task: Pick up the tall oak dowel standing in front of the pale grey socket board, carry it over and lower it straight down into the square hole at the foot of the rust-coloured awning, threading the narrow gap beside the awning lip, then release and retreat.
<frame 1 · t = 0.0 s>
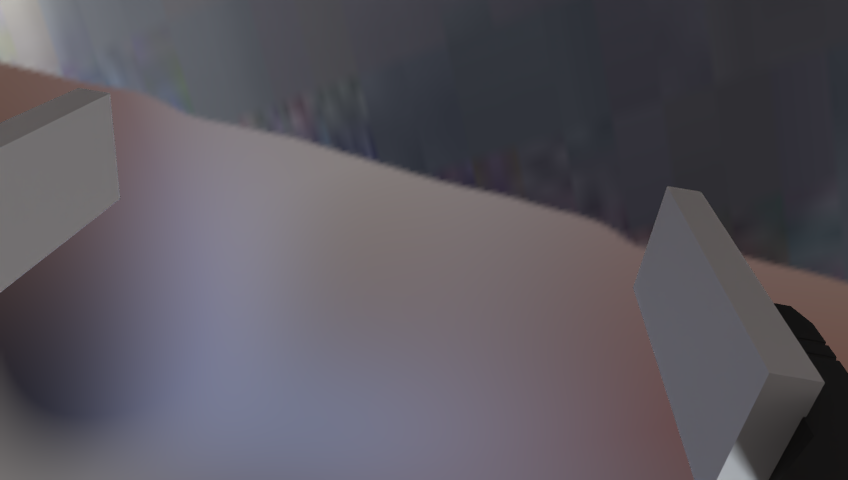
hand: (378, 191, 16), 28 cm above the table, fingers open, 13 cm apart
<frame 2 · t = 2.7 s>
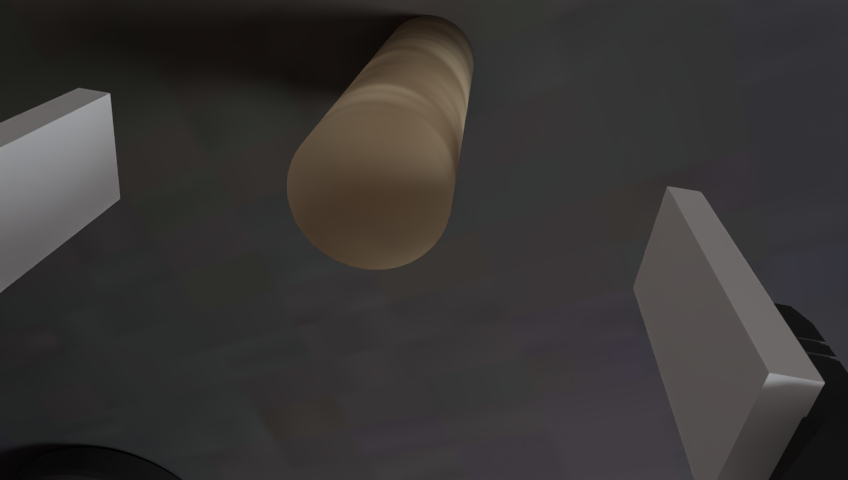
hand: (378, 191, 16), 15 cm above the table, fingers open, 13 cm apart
dowel: (428, 62, 29), on the table
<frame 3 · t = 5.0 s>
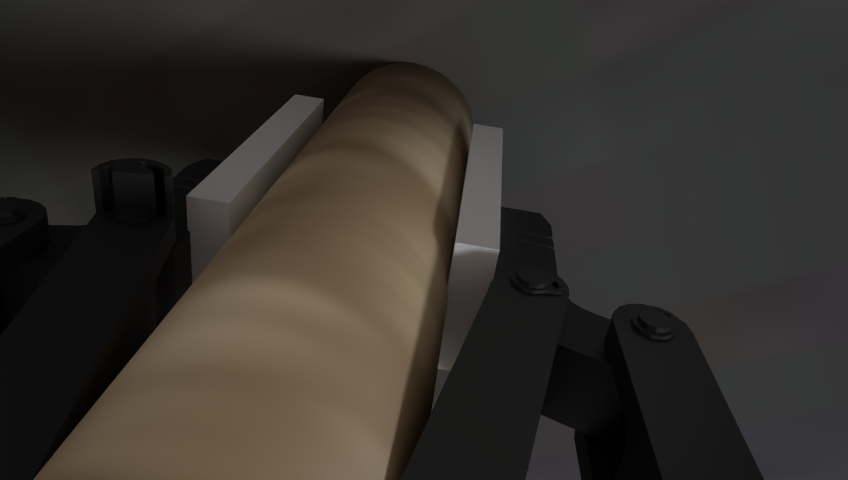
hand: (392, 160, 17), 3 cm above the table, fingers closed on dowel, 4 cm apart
dowel: (406, 129, 20), on the table, touching gripper
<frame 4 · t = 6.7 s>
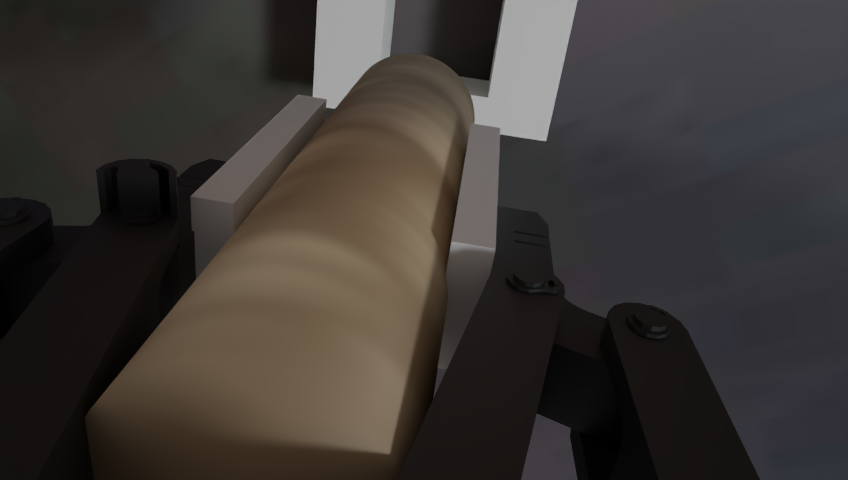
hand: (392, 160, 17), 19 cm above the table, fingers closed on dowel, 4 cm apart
dowel: (411, 117, 21), point 16 cm above the table, touching gripper
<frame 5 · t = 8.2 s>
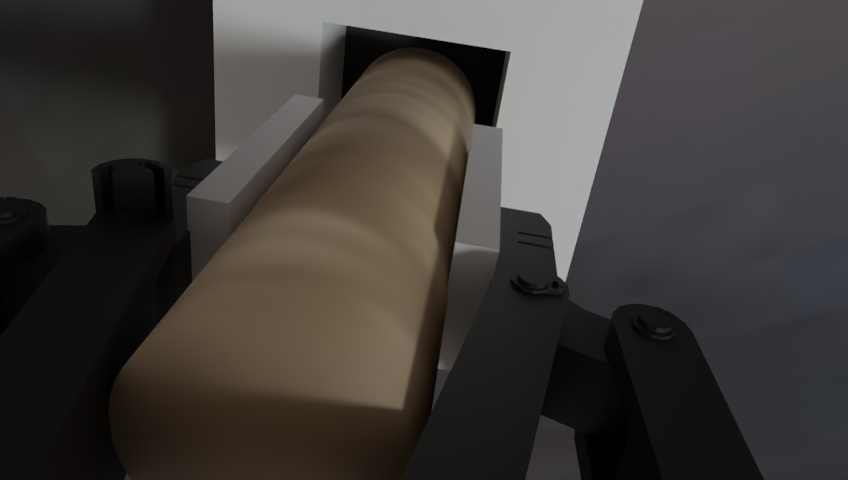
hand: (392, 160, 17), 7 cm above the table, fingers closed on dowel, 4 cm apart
dowel: (414, 110, 21), point 2 cm above the table, touching gripper
when the fingers open (4 cm above the table, at t = 8.8 s): dowel stays where it is, on the table.
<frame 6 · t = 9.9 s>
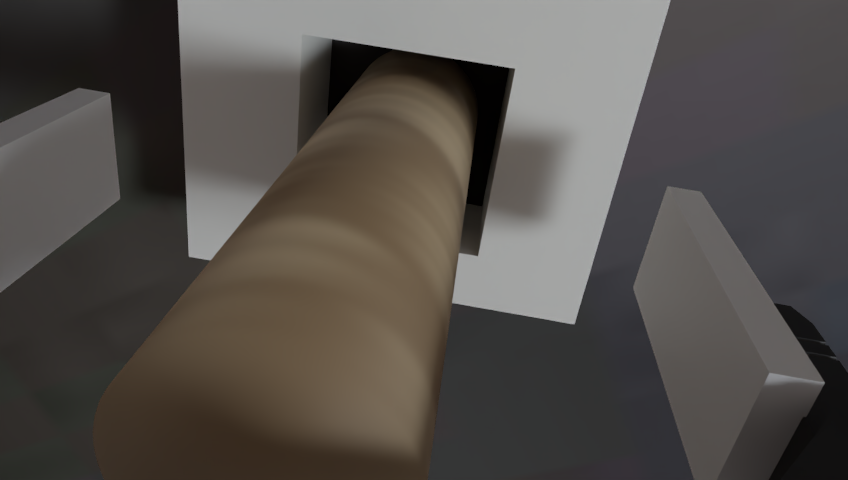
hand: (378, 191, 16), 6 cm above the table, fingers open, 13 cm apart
dowel: (415, 110, 21), on the table
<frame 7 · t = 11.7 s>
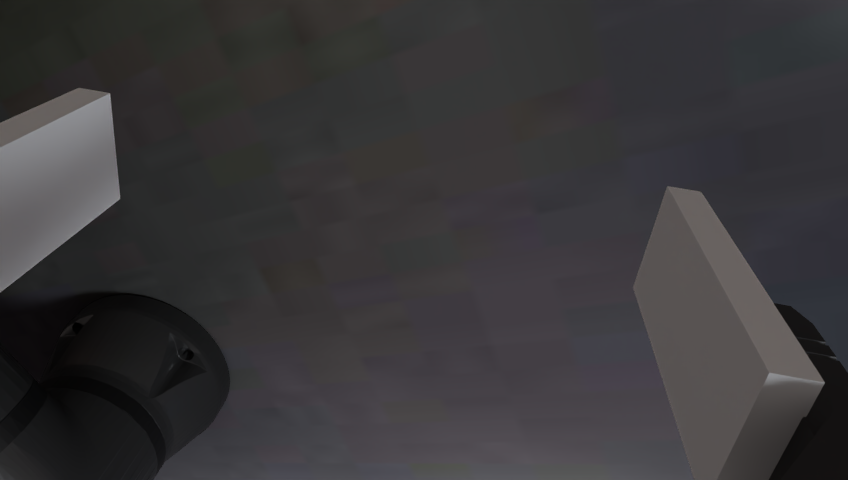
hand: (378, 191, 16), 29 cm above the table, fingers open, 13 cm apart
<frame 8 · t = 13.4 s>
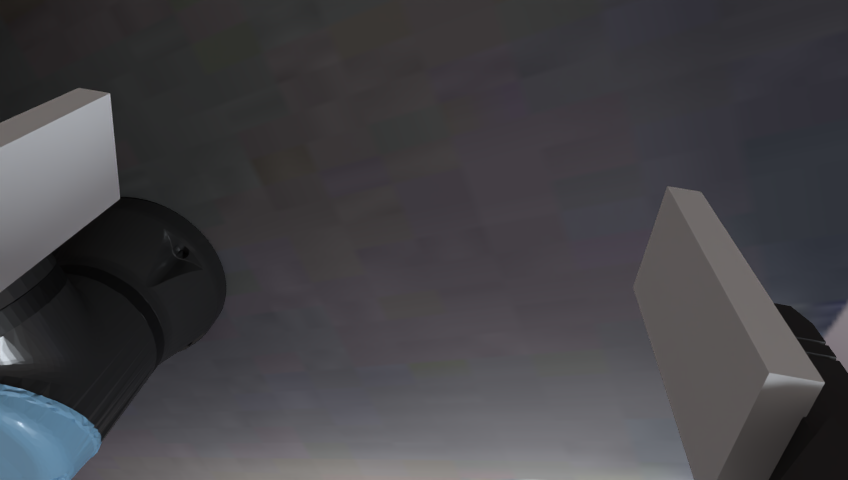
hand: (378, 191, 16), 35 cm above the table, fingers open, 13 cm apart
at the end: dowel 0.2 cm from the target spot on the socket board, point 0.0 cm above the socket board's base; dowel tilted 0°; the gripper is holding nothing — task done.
